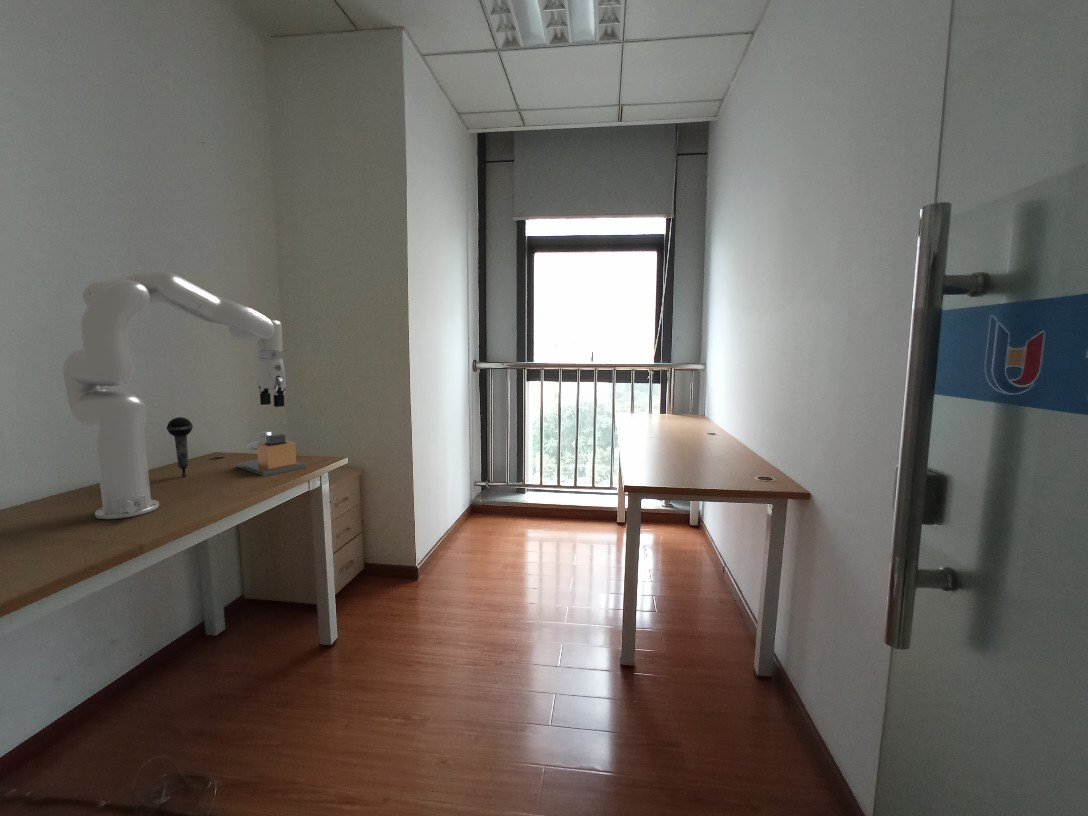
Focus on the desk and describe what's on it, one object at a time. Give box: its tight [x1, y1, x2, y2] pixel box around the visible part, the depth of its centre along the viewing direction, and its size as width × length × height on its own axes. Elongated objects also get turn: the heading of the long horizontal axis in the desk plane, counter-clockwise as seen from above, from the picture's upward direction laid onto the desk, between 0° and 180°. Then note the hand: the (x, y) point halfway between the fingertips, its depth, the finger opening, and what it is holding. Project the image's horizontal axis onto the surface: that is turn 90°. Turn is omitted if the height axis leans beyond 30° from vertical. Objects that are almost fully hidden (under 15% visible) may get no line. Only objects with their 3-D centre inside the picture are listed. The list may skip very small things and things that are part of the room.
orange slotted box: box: [236, 430, 306, 477], centre depth 168 cm, size 20×14×12 cm
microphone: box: [166, 416, 194, 478], centre depth 155 cm, size 7×7×20 cm
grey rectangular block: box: [266, 433, 286, 446], centre depth 165 cm, size 3×5×11 cm, turn 140°
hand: (272, 405), depth 163 cm, fingers open, 9 cm apart
